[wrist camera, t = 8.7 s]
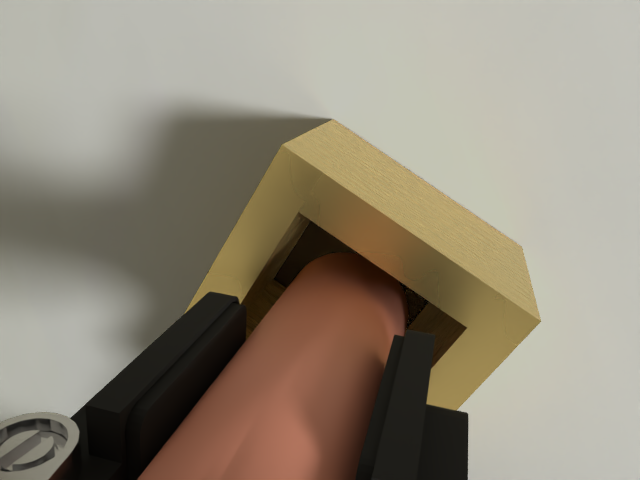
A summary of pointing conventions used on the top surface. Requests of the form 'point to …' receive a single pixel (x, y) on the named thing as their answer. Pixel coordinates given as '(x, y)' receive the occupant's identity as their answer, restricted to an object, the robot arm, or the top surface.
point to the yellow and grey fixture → (385, 252)
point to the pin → (296, 383)
